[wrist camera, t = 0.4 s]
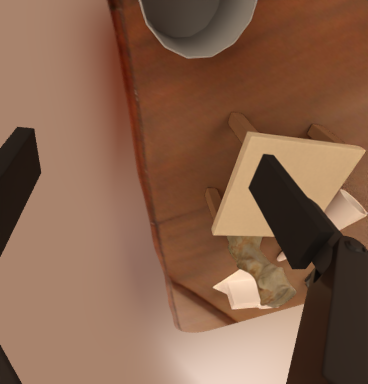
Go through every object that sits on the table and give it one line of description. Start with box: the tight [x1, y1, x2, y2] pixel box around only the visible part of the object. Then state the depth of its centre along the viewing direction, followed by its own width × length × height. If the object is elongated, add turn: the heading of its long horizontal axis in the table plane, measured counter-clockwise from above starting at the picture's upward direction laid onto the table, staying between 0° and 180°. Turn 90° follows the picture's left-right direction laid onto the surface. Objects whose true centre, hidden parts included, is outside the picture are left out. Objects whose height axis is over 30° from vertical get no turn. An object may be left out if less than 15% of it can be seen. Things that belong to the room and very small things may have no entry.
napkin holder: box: [213, 269, 272, 309], centre depth 59 cm, size 15×11×6 cm
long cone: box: [277, 189, 368, 261], centre depth 49 cm, size 6×6×19 cm
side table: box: [205, 112, 366, 237], centre depth 36 cm, size 15×15×8 cm
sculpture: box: [227, 236, 296, 308], centre depth 42 cm, size 6×7×15 cm
